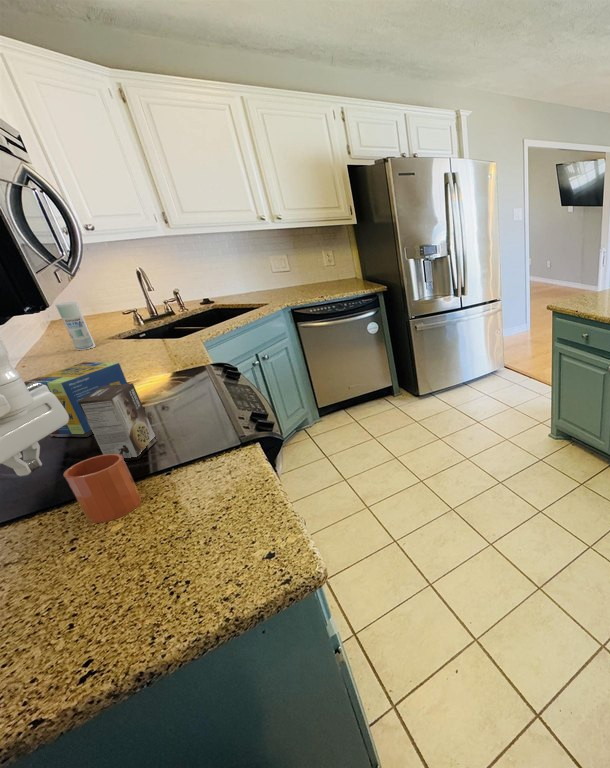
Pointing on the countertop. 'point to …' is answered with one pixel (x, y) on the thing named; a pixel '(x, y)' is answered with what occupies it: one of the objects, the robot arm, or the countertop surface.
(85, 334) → the spray can
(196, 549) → the countertop surface
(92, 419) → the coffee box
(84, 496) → the cup
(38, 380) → the protein box
